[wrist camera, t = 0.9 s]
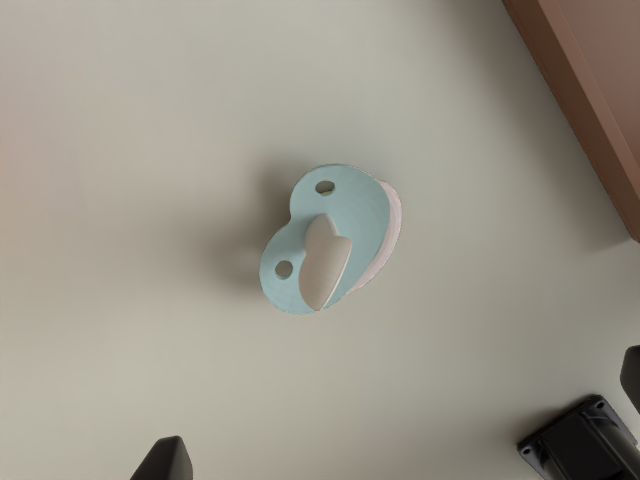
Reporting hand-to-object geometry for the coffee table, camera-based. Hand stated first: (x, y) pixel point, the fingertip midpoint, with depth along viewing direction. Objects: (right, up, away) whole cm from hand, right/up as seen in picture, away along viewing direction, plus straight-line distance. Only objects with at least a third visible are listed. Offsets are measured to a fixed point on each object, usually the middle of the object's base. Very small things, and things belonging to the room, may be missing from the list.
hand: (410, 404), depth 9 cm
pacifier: (-1, +4, +13) cm, 14 cm away
